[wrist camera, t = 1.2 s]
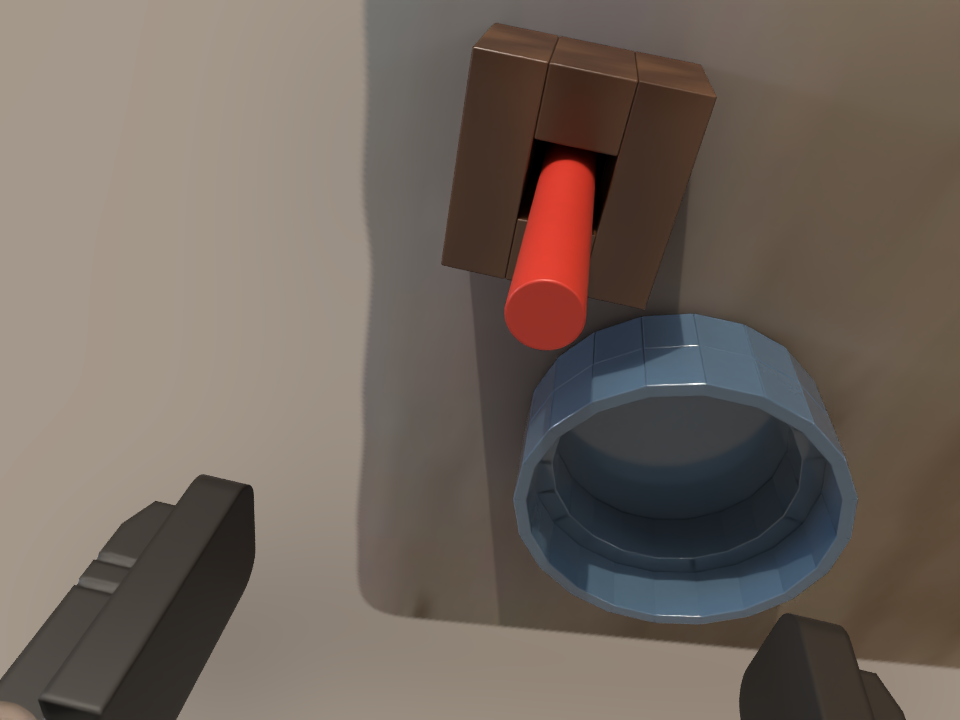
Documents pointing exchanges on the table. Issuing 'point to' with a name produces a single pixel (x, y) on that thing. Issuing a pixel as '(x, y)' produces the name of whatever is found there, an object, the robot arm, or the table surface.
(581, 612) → the table surface
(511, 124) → the holder
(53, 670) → the robot arm
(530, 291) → the stick
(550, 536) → the bowl
